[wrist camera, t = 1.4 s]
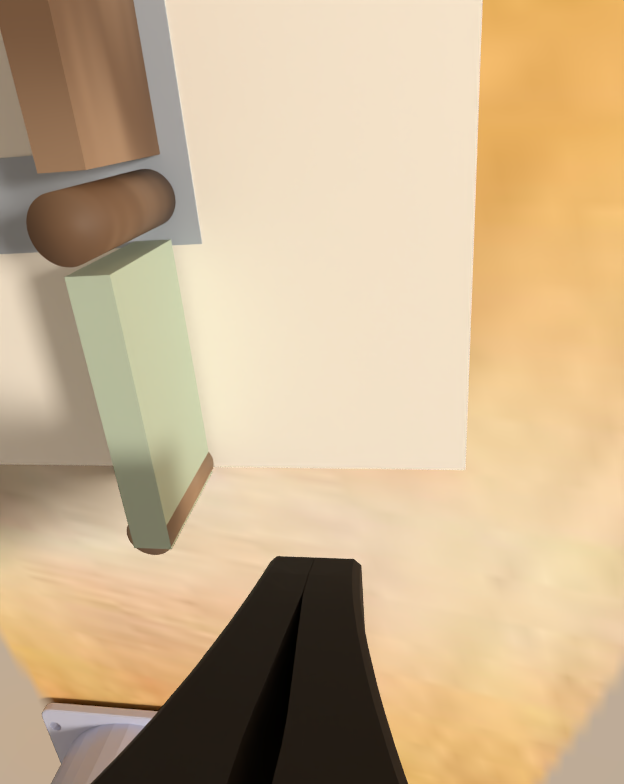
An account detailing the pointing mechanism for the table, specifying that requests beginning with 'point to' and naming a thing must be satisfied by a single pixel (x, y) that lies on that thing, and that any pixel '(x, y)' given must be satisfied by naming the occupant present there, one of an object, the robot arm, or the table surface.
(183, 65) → the card
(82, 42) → the fence
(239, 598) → the table surface
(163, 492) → the fence panel
